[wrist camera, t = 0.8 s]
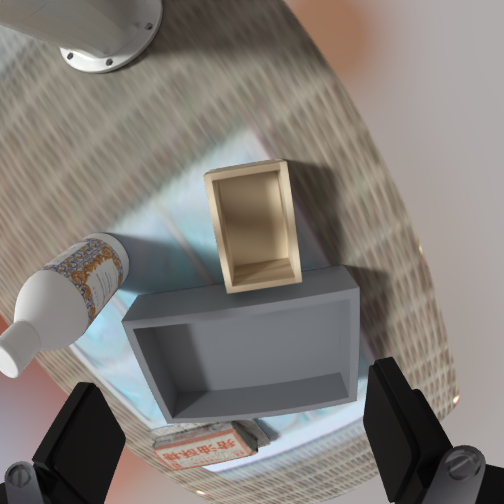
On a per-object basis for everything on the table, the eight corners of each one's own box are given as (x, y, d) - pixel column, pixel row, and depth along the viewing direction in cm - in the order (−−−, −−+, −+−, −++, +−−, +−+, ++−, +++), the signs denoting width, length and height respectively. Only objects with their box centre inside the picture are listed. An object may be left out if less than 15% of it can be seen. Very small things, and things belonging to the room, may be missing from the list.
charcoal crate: (137, 295, 36) (121, 321, 30) (342, 264, 35) (359, 287, 29) (175, 393, 41) (167, 423, 35) (345, 371, 40) (356, 400, 34)
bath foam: (135, 287, 36) (56, 408, 17) (85, 286, 35) (-6, 390, 17) (126, 230, 33) (18, 324, 14) (75, 232, 33) (-41, 314, 14)
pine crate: (211, 169, 31) (203, 175, 26) (279, 158, 31) (286, 161, 26) (230, 269, 35) (227, 293, 29) (293, 259, 35) (302, 282, 29)
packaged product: (176, 478, 43) (140, 449, 40) (180, 458, 48) (147, 427, 45) (272, 459, 41) (242, 426, 38) (271, 437, 45) (242, 402, 42)
